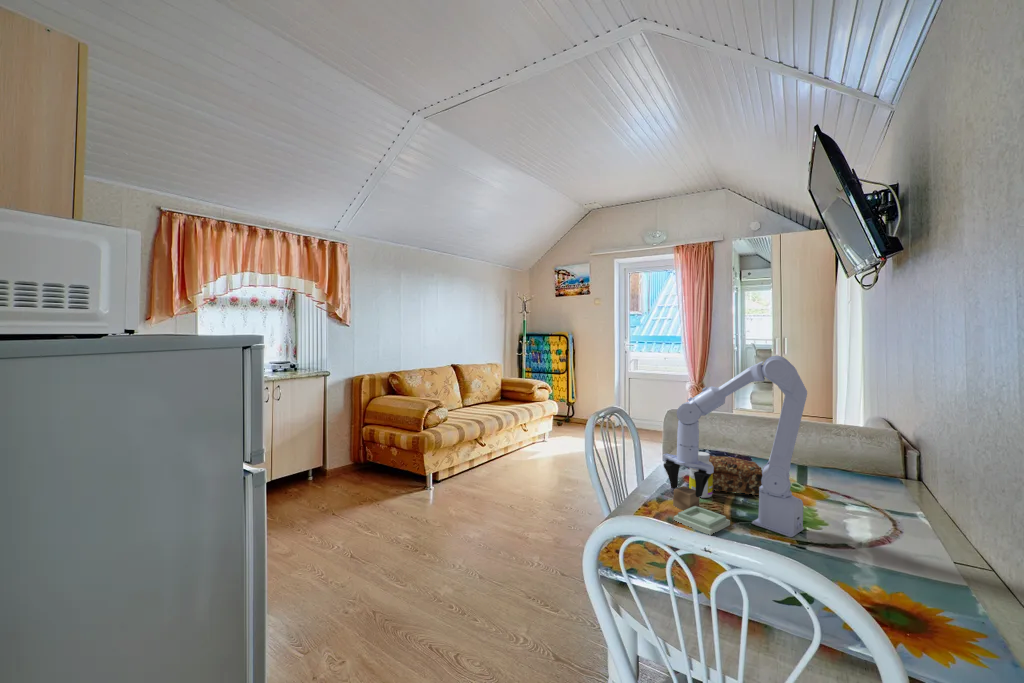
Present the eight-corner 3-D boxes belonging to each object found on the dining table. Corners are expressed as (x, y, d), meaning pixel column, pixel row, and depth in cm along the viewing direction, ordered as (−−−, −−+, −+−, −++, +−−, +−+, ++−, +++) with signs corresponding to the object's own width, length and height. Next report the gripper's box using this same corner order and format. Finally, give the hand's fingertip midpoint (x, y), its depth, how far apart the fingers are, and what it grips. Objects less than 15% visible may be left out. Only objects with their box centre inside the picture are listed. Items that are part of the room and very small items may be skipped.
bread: (697, 490, 139) (698, 459, 138) (695, 479, 149) (696, 450, 148) (764, 498, 132) (765, 466, 132) (757, 486, 142) (757, 456, 142)
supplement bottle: (707, 491, 137) (709, 450, 137) (715, 499, 131) (716, 456, 130) (686, 490, 138) (687, 449, 138) (692, 498, 131) (693, 455, 131)
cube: (699, 508, 123) (699, 491, 123) (689, 513, 120) (689, 495, 120) (682, 503, 127) (683, 486, 127) (673, 507, 124) (673, 489, 124)
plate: (730, 524, 113) (730, 516, 113) (710, 535, 107) (710, 526, 107) (694, 511, 121) (694, 504, 121) (673, 520, 115) (673, 512, 115)
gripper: (657, 441, 127) (655, 487, 127) (704, 452, 115) (703, 503, 116) (671, 437, 131) (669, 482, 132) (718, 448, 120) (716, 497, 120)
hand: (686, 491), depth 124 cm, fingers open, 7 cm apart
